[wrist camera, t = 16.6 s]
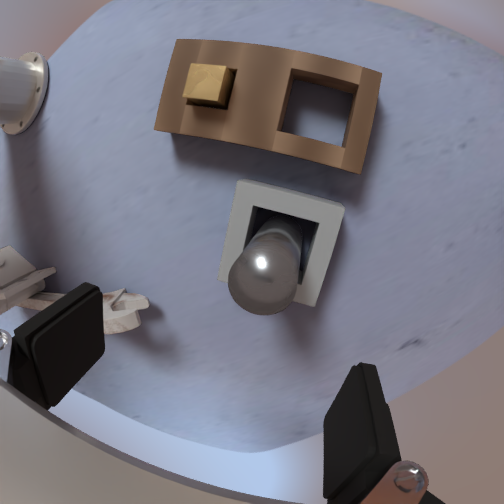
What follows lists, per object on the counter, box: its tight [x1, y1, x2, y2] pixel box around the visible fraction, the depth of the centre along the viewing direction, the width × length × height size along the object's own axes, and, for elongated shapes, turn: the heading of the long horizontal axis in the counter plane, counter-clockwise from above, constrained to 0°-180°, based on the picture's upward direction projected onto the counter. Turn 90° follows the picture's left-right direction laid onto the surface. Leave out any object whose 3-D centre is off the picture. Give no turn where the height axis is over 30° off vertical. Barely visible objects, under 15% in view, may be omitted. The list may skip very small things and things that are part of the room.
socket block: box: [154, 39, 382, 174], centre depth 24 cm, size 18×9×4 cm, turn 77°
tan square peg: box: [182, 63, 236, 110], centre depth 23 cm, size 3×3×5 cm
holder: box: [217, 179, 345, 307], centre depth 27 cm, size 9×9×4 cm
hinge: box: [0, 245, 56, 315], centre depth 32 cm, size 14×5×10 cm, turn 77°
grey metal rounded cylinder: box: [228, 215, 302, 315], centre depth 23 cm, size 4×4×12 cm
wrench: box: [16, 288, 150, 334], centre depth 33 cm, size 8×2×30 cm
